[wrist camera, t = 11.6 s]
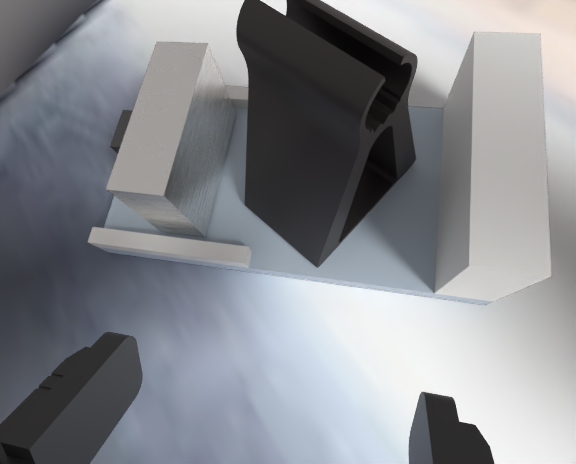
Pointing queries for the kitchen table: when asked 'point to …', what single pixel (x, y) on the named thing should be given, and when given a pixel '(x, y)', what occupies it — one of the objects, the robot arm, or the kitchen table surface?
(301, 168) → the phone stand
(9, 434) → the robot arm
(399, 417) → the kitchen table surface
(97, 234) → the vise body
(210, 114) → the block
